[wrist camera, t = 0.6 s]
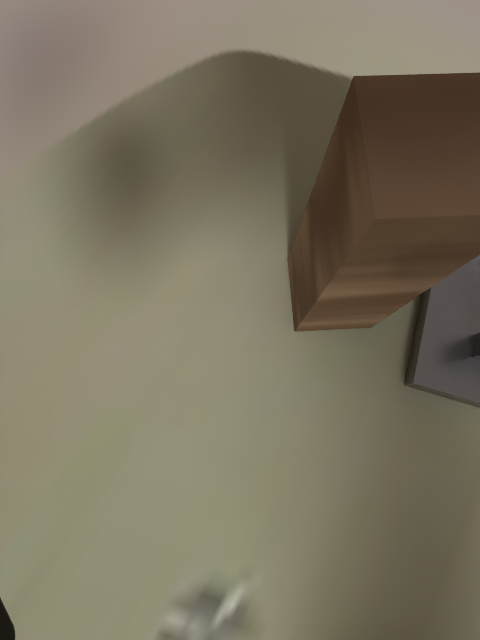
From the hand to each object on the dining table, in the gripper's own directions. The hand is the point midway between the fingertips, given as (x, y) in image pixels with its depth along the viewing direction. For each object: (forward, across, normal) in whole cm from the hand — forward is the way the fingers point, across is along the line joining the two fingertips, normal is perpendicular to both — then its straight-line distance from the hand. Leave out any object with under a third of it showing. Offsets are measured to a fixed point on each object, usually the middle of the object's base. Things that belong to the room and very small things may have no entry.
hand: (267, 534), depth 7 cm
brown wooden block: (+15, -6, 0) cm, 16 cm away
